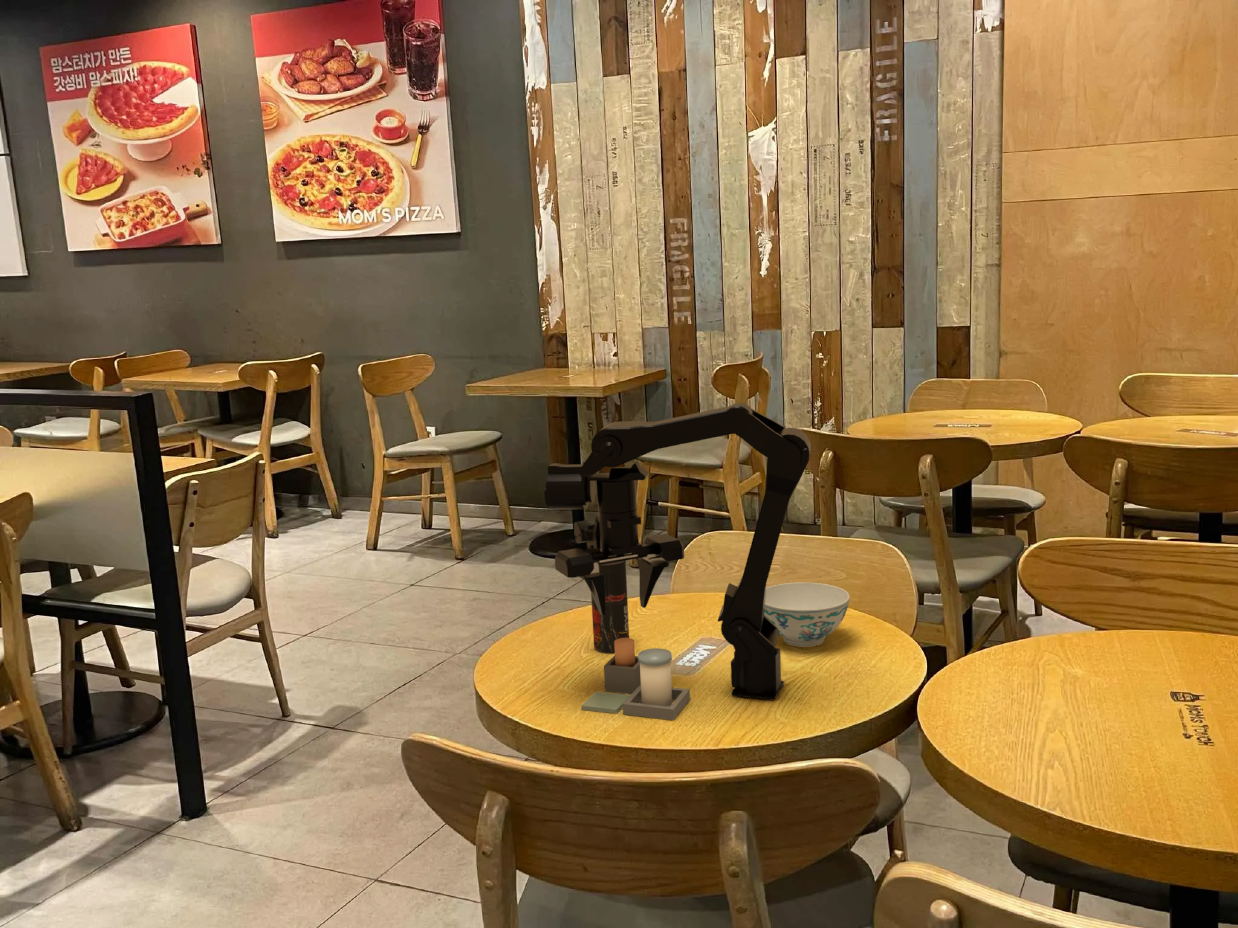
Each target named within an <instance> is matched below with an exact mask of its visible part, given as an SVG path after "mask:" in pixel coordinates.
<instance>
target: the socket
mask: <svg viewBox="0 0 1238 928" xmlns="http://www.w3.org/2000/svg"><path fill="white" fill-rule="evenodd" d="M629 695H630V696H629V697H628V698H627V700H626V701H625V702H624V703H623V708H622V715H624V714H625V716H633V717H641V718H651V719H659V720H669V721H675V720H676V718H677V717H678V716H679V714H680V713H681V712H682V710H684V708H685V707H686V705H687V704H688V703H689V702H690V701H691V689H690V688H685V687H684V688H682V687H672V705H671V706H670V707H668V706H659V705H650V704H642V701H641V684H640V686H639V687H638V688H637V689H636V690H635V691H634V692H633V693H632V694H629Z"/></svg>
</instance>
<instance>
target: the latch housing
mask: <svg viewBox="0 0 1238 928" xmlns="http://www.w3.org/2000/svg"><path fill="white" fill-rule="evenodd" d="M603 678H604V692H607V693H616V694H625V695H631V694H632V693H633V692H634V691H635V690H636V689H637V688H638V687H639V686H640V684H641V679H640V662H639V661H638V655H637V656H636V655H635V665H634V666H633V667H626V666H616V665H615V655H614V656H612V658H610V659H609V660H608V661H607V662H606V663H605V664H603Z"/></svg>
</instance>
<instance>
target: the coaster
mask: <svg viewBox="0 0 1238 928" xmlns="http://www.w3.org/2000/svg"><path fill="white" fill-rule="evenodd" d="M630 695H631V694H626V693H617V692H608V691H595V692H593V694H591V695H590V696H589V697H588V698H587V699H586V701H584V702H583V703H582V704H581V707H580V708H581V710H582V711H592V712H599V713H606V714H618V713H619V712H620V711H621V710H623V703H624V702H625V701H626V700H627V698H628V697H629V696H630Z"/></svg>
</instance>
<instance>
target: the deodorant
mask: <svg viewBox="0 0 1238 928" xmlns="http://www.w3.org/2000/svg"><path fill="white" fill-rule="evenodd" d="M608 557H613V556H608ZM626 561H627V560H625V561H619V562H613V563H607V564H602V565H599V572H600V573H602V574H604V579H605V601H606V609H605V615H603V616H602V615H601V614H600V613H599V610H598V608H597V605H596V603H595V601H594V598H593V596H592V593H591V592H590V597H591V599H590V600H591V613H592V615H591V616H592V635H593V650H594V651H596V652H597V653H602V654H615V646H614V641H615V640H617V639H620V638H630V627H629V607H628V605H629V602H628V601H629V600H628V587H627V585H628V584H627V583H628V582H627V562H626Z"/></svg>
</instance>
